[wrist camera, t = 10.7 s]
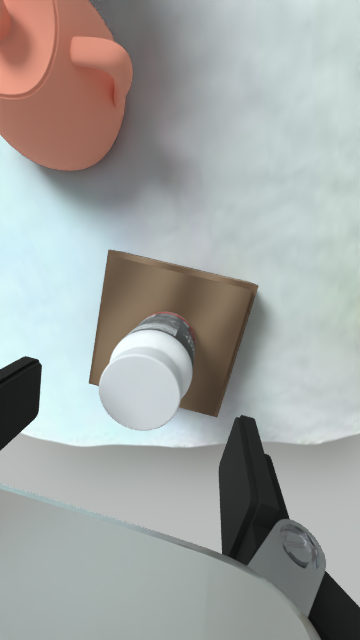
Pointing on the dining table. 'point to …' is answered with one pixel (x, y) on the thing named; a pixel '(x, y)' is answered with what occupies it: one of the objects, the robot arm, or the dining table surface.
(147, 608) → the robot arm
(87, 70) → the teapot
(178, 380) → the pill bottle
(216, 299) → the walnut base
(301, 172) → the dining table surface
